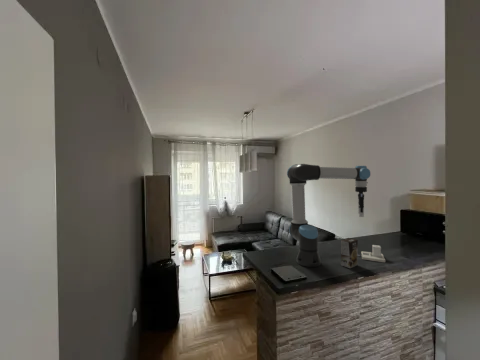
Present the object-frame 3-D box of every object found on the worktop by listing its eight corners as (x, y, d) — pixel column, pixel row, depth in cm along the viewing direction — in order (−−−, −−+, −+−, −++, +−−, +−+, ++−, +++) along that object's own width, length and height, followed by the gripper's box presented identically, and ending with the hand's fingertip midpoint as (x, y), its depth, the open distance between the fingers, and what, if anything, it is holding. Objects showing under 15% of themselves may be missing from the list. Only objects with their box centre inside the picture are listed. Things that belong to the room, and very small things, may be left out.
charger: (373, 258, 150) (373, 246, 150) (372, 256, 154) (372, 244, 154) (380, 259, 148) (380, 247, 148) (379, 257, 152) (379, 245, 152)
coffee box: (350, 268, 134) (350, 242, 134) (340, 265, 140) (340, 240, 139) (358, 265, 140) (358, 239, 139) (348, 261, 145) (348, 237, 144)
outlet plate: (362, 259, 149) (362, 256, 149) (361, 253, 160) (361, 251, 160) (385, 262, 143) (385, 259, 143) (382, 256, 154) (382, 253, 154)
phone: (353, 257, 154) (353, 256, 154) (346, 252, 165) (346, 250, 165) (361, 257, 153) (361, 256, 153) (353, 251, 164) (353, 250, 164)
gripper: (368, 187, 151) (368, 218, 151) (365, 185, 173) (365, 212, 174) (355, 187, 154) (355, 217, 155) (354, 185, 176) (354, 212, 177)
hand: (360, 215), depth 164 cm, fingers open, 13 cm apart
